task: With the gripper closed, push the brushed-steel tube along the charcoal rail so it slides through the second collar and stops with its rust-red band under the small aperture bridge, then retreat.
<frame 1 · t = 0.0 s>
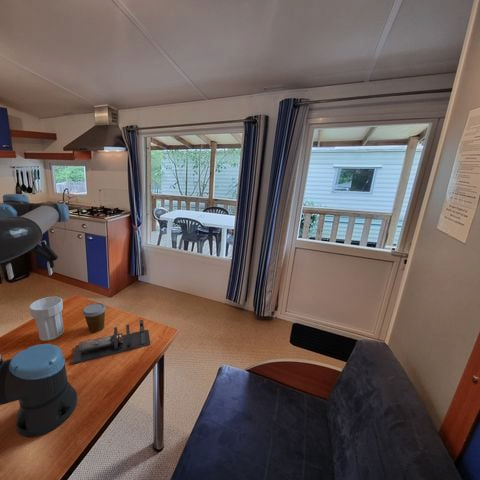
hand: (31, 276, 101), 28 cm above the table, fingers open, 13 cm apart
collar rail: (114, 346, 102), on the table
tube: (101, 342, 98), point 4 cm above the table, slide at 0.0 cm
disposable coffee cup: (96, 328, 111), on the table
cup: (52, 335, 105), on the table
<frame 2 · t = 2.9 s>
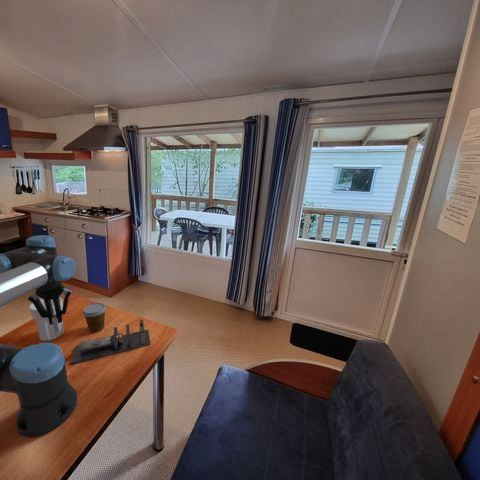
hand: (57, 329, 89), 14 cm above the table, fingers closed
nothing on the table moved.
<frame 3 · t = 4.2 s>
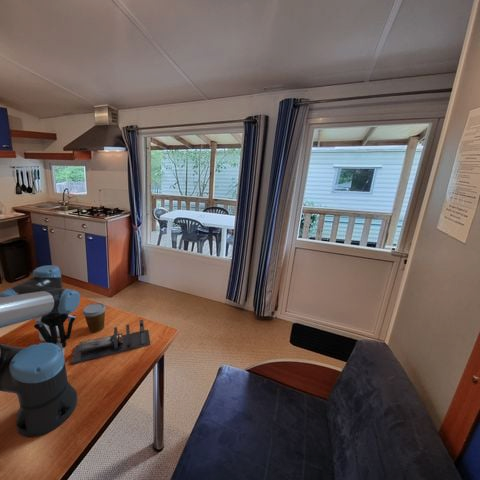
hand: (61, 353, 92), 2 cm above the table, fingers closed
nothing on the table moved.
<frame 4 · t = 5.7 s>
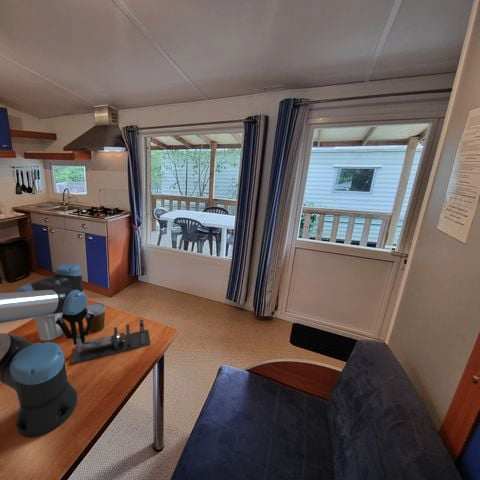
hand: (80, 349, 95), 2 cm above the table, fingers closed
tube: (104, 341, 99), point 3 cm above the table, slide at 0.9 cm, touching gripper
everything else where it was.
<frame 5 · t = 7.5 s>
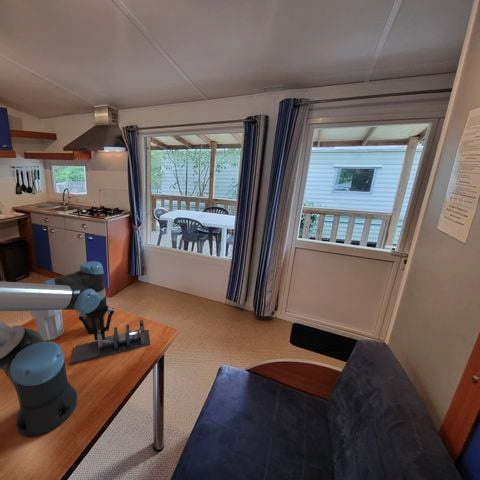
hand: (100, 344, 99), 2 cm above the table, fingers closed
tube: (122, 337, 102), point 4 cm above the table, slide at 8.2 cm, touching gripper
everything else where it was.
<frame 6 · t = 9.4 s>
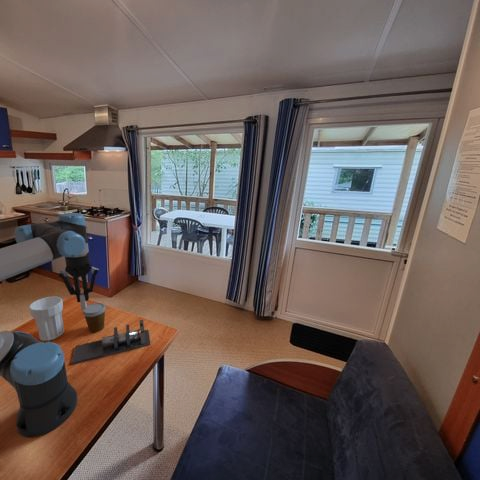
hand: (84, 307, 91), 22 cm above the table, fingers closed
tube: (122, 337, 102), point 4 cm above the table, slide at 8.2 cm
everything else where it was.
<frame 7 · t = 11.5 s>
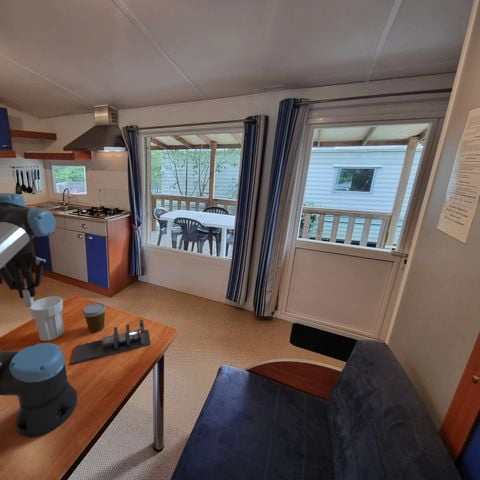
hand: (30, 304, 79), 29 cm above the table, fingers closed
nothing on the table moved.
at the end: tube slide at 8.2 cm; tube 1.5 cm from the target spot on the collar rail, point 3.5 cm above the collar rail's base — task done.
